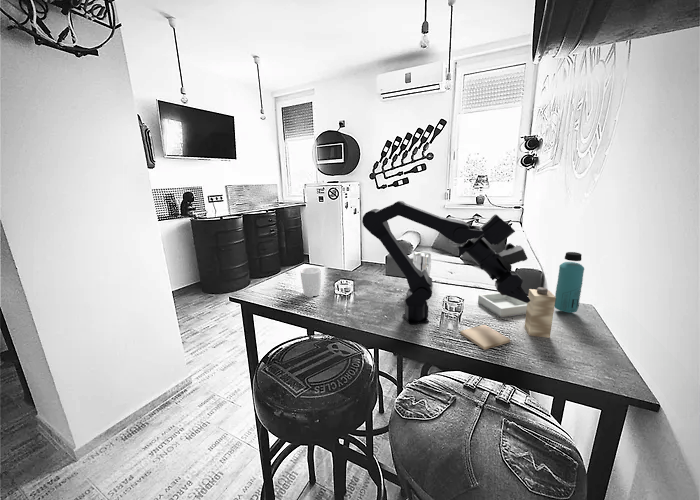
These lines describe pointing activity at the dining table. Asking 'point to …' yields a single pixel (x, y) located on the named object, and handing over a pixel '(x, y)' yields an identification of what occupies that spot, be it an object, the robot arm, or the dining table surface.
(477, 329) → the cork coaster
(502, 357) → the dining table surface
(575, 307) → the beverage bottle
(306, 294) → the white cup
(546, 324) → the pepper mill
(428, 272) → the beer glass
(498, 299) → the tray
